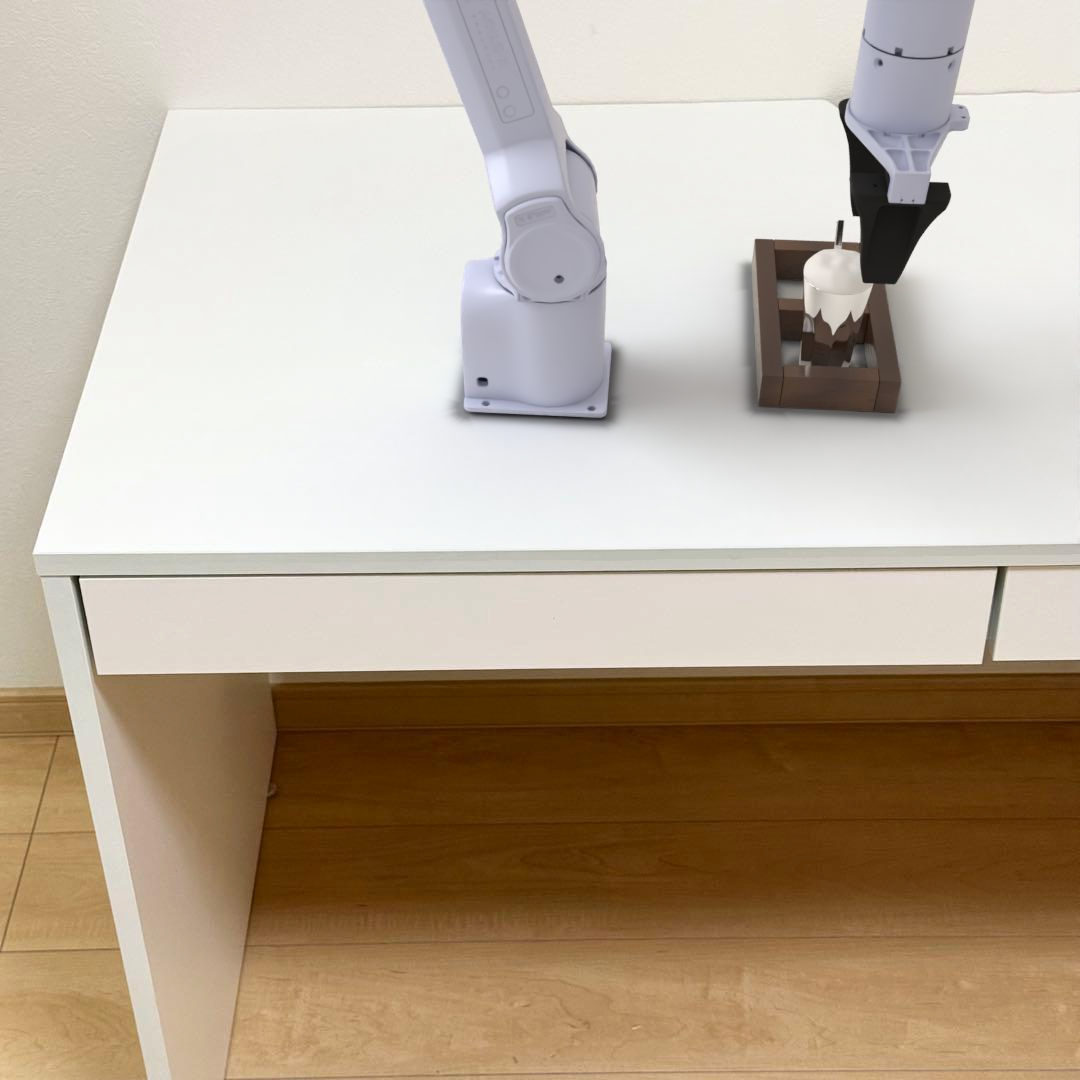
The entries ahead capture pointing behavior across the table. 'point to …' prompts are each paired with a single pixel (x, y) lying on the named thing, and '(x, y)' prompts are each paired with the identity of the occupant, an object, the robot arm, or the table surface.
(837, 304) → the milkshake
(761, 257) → the rack
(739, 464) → the table surface
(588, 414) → the robot arm
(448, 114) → the table surface
